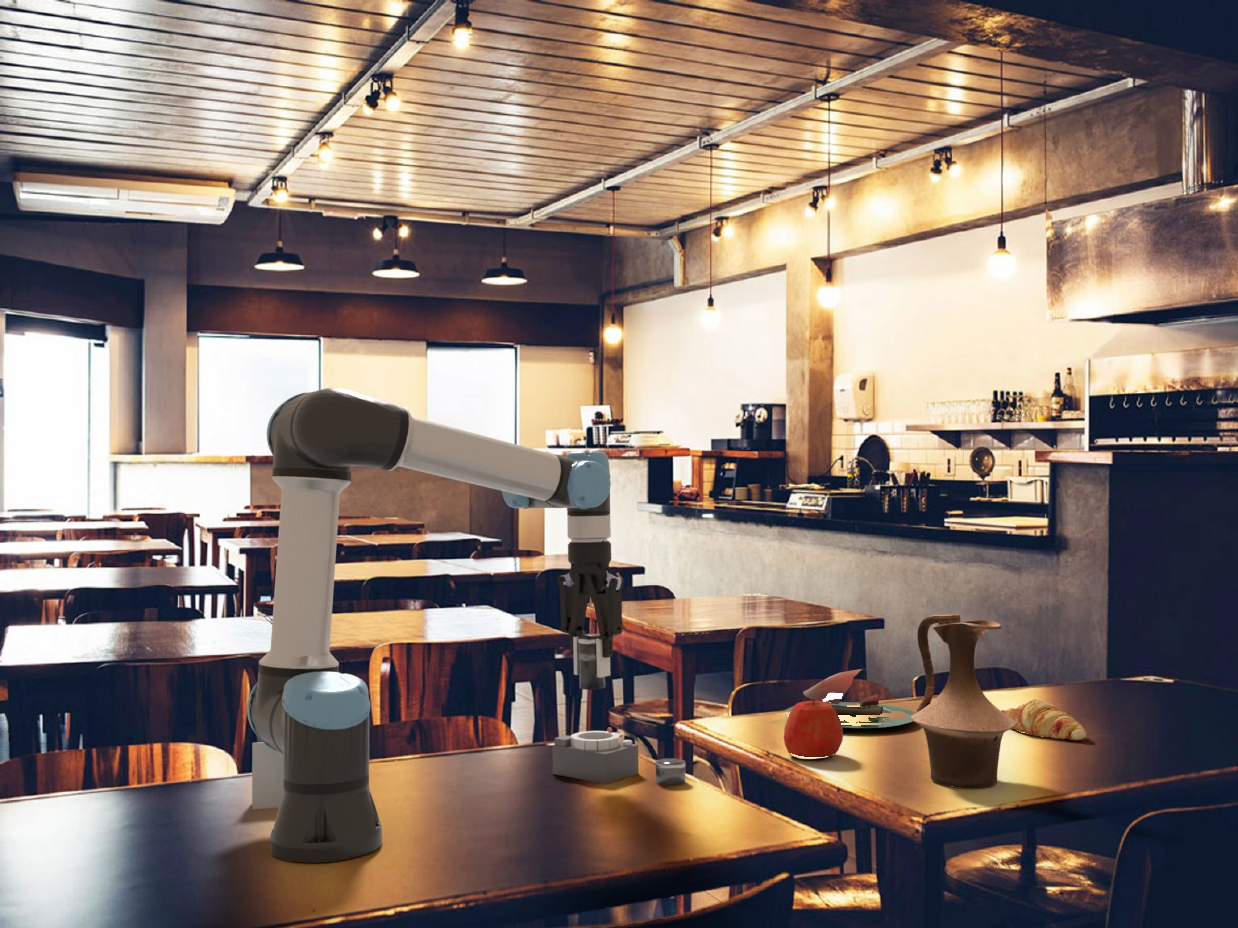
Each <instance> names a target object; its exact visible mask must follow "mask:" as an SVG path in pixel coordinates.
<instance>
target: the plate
mask: <svg viewBox="0 0 1238 928" xmlns="http://www.w3.org/2000/svg"><path fill="white" fill-rule="evenodd" d="M865 670H866V668H860V669H854V670H847V671H843V672H842V671H841V672H838V673H836V674H833V675H830V676H828V677H827V678H825V679H824V680H822V681H820V682H817V683H816V684H815V685H813V686H811V687H810V688H808V689H806V690H804V691H803V695H804V696H805V698H804V699H803V701H802V702H806V701H807V699H810V700H813V699H814V700H815V701H823V702H827V703H829V704H830V705H831V706H832V707H833V708H834V710H835V711H836V713H837V715H850V716H852V717H856V715H880V714H882V713H891V711H902V712H905V713H907V714H909V716H906V717H905V718H903V719H902V718H889V717H877V718H870V717H869V718H868V719H869V721H871V722H860V721H859V723H890V724H881V725H861V726H852V725H842V728H851V729H854V728H855V729H861V728H862V729H875V728H887V727H888V728H890V727H895V726H901V725H905V724H909V723H912V722H914V721H913V720H911V716H912V715H913V714H914V712H915V711H912V710H911V709H907V708H904V707H899V706H895V705H888V704H883V703H882V704H881V703H879V702H880V701H879V696H878V693H876V694H874V695H871V696H868V697H866V698H863V699H862V698H861V697H860V700H859V699H857V701H854V702H852V701H851V702H850V701H849V702H848V701H841V700H842V699H843V698H844V697H845V694H846V692H847V691H848V690H849V689H850V687H851V685H852V686H853V685H854V686H855V683H853V682H854V681H853V680H854V678H855V677H856V676H857V675H858V674H859V673H860V672H861V671H865ZM865 675H866V674H865V673H864V675H863V676H864V677H863V678H864V679H866V678H865ZM856 691H857V693H859V692H858V690H856ZM849 699H850V700H851V699H852V698H850V697H849ZM853 700H856V699H853ZM858 701H859V702H858ZM857 704H860V707H847V705H857ZM883 707H884V708H886V709H889V710H891V711H888V710H885V709H883ZM792 708H793V706H790V707H788V708H786V709H785V710H784V712H786V711H791V710H792ZM784 715H785V716H786V714H784ZM883 719H885V720H883ZM890 719H900V720H890ZM901 719H902V720H901ZM840 722H841V723H849V722H847V721H845V720H844V721H840ZM856 723H858V722H856Z"/></svg>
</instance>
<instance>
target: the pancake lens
mask: <svg viewBox="0 0 1238 928" xmlns="http://www.w3.org/2000/svg"><path fill="white" fill-rule="evenodd" d="M654 764H655V783H656V785H659V786H662V787H678V786H684V785H685V784H686V761H685V760H683V759H679V758H661V759H657V760H655V761H654Z"/></svg>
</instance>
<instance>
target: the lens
mask: <svg viewBox="0 0 1238 928" xmlns="http://www.w3.org/2000/svg"><path fill="white" fill-rule="evenodd" d="M598 636H600V634H599V633H585V634H583V635H579V638H578V643H579V673H580V674H579V689H581V690H586V691H587V690H588V691H591V690H594V691H595V690H603V689H605V688H606V676H605V677H601V678H599V677H597V652H596V639H598V638H597V637H598Z"/></svg>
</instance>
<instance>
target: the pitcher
mask: <svg viewBox="0 0 1238 928" xmlns="http://www.w3.org/2000/svg"><path fill="white" fill-rule="evenodd" d="M932 625H933V626H932ZM931 626H932V628H933V630H934V631H935V633H937V635H938V636H939V638H940V639H941V640H942V642H944V643H946V644H947V646H948V650H949V673H948V678H947V681H946V684H945V686H944V687H943V689H942V690H941V692H940V693H939V695H937V697H936V698H935V699H934V700H933V701H932V699H933V696H934V693H935V675H934V666H933V661H932V656H931V651H930V646H929V636H928V635H929V634H928V633H929V629H930V627H931ZM1000 629H1002V626H1001V624H1000V623H999V622H996V621H994V620H987V619H974V620H965V621H964V620H963V621H961V615H960V614H959V613H958V614H957V613H956V614H933V615H930V616H927V617H924V619H922V620H921V621H920V623H919V625H918V629H917V645H918V649H919V652H920V656H921V659H922V665H923V670H924V674H925V684H926V685H925V686H926V687H925V692H924V696H923V698H922V700H921V702H920V703H919V705H918V707H917V708H916V709H915V711H913V712H914V714H913V715H912V716H911V720H913V722H914V723H916V724H917V725H920V727H922V729H923V731H924V734H925V735H924V736H925V737H926V742H927V743H926V744H927V750H928V756H929V766H930V779H931V780H932V782H935V783H936V782H938V783H937V784H939V783H940V784H939V785H942V784H943V786H945V785H947V786H946V787H950V786H953V787H952V788H956V787H957V789H965V790H966V789H968V790H977V789H978V790H980V789H988V788H991V787H994V786H996V785H997V784H998V772H999V771H998V769H999V760H1000V751H1001V745H1002V739H1003V736H1004V733H1006V732H1008V731H1011V730H1012V729H1013V728H1014V727H1016V722H1015V721H1014V720H1013V719H1011V718H1010V717H1008V716H1007V715H1006V714H1004V713H1003V712H1002V711H1001V710H1000V709H999V708H998V707H996V705H995V704H993V703H992V702H991V701H990V699H988V698H987V697H986V695H985V694H984V692H983V690H982V688H981V686H980V685H979V681H978V679H977V676H976V670H975V654H976V653H975V651H976V647H977V643H978V641H979V639H980V637H981V636H983V635H985V633H987V632H988V631H990V630H991V631H992V630H1000Z"/></svg>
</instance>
